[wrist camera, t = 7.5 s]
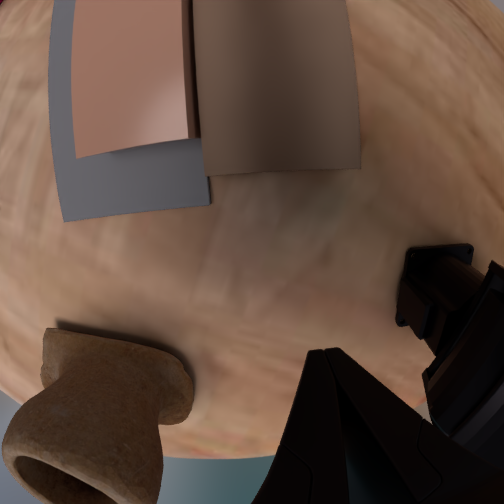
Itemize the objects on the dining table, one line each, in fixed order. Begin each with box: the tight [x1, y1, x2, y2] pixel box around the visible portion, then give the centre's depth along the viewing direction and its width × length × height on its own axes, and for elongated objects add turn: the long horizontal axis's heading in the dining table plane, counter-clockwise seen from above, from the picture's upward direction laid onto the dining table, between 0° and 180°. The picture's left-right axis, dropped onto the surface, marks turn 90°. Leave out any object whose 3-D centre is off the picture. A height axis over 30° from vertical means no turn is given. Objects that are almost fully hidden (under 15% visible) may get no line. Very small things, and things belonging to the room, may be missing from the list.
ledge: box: [193, 0, 361, 177], centre depth 13 cm, size 8×14×3 cm, turn 4°
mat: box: [48, 0, 211, 222], centre depth 15 cm, size 11×18×1 cm, turn 4°
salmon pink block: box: [71, 0, 201, 159], centre depth 13 cm, size 4×10×6 cm
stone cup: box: [2, 328, 194, 504], centre depth 16 cm, size 15×12×15 cm
